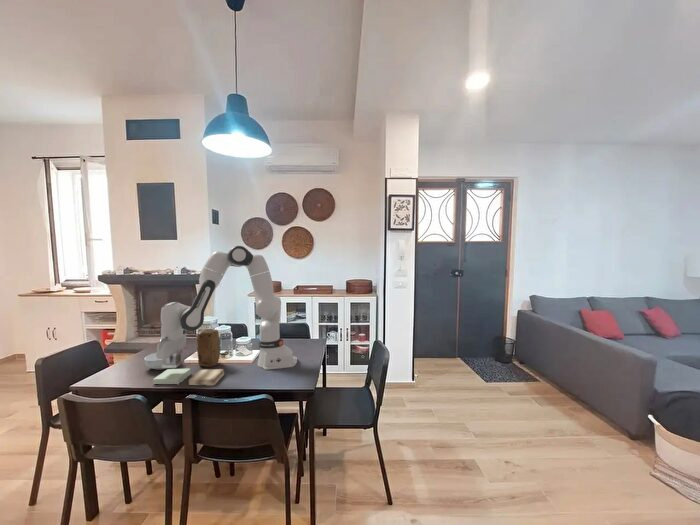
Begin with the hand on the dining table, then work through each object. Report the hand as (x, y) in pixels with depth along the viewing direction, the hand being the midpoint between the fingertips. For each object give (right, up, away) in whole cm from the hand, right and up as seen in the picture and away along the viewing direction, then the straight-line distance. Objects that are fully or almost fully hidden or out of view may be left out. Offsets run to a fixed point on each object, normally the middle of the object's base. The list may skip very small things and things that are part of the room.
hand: (172, 361), depth 146 cm
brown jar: (+9, -9, +19) cm, 23 cm away
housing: (0, -2, 0) cm, 2 cm away
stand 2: (+18, -9, -1) cm, 20 cm away
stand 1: (0, -9, 0) cm, 9 cm away
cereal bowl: (-16, -9, +17) cm, 24 cm away
